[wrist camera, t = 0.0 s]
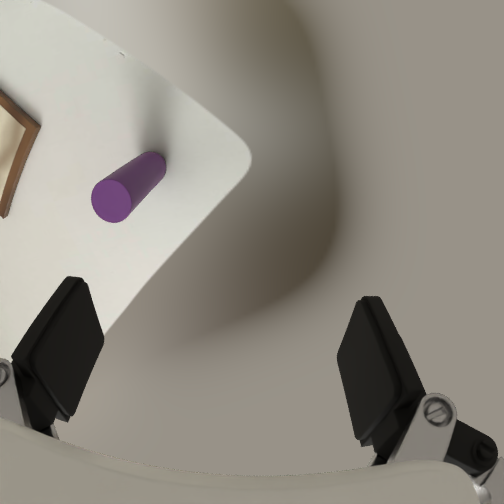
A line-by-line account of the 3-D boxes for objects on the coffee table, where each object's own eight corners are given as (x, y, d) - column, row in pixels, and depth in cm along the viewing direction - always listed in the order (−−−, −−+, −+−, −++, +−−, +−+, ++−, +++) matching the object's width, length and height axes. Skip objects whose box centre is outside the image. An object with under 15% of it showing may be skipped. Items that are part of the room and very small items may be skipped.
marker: (137, 149, 26) (88, 179, 17) (168, 149, 26) (129, 178, 18) (139, 180, 28) (94, 222, 19) (169, 181, 28) (133, 223, 19)
